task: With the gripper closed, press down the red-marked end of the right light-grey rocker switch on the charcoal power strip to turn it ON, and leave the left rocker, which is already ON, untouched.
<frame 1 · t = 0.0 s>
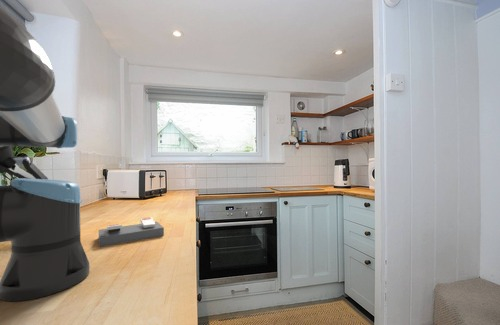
hand: (4, 203, 67), 15 cm above the counter, tool tilted 35°, fingers open, 13 cm apart
right rocker: (147, 222, 86), point 5 cm above the counter, hinge at -10.0°
left rocker: (114, 226, 80), point 5 cm above the counter, hinge at 10.0°
power strip: (131, 236, 83), on the counter
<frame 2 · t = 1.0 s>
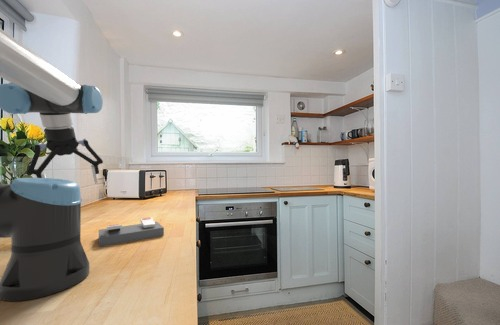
hand: (73, 186, 80), 19 cm above the counter, tool tilted 20°, fingers open, 13 cm apart
nothing on the counter moved.
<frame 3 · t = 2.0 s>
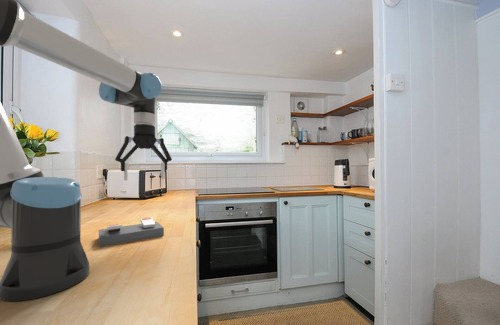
hand: (145, 179, 88), 21 cm above the counter, tool pointing down, fingers open, 13 cm apart
nothing on the counter moved.
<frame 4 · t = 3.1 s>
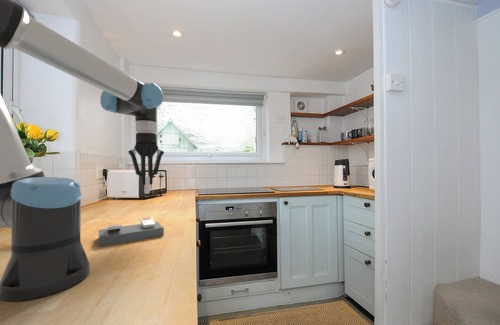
hand: (147, 193, 89), 15 cm above the counter, tool pointing down, fingers closed
nothing on the counter moved.
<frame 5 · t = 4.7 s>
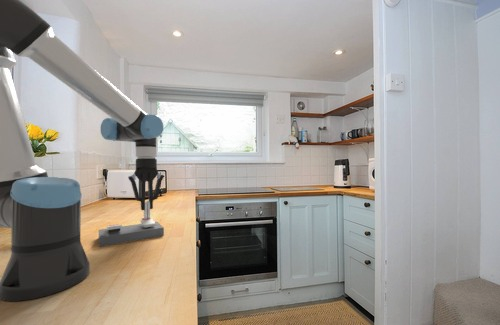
hand: (147, 217, 89), 6 cm above the counter, tool pointing down, fingers closed, pressing on right rocker
right rocker: (147, 222, 86), point 5 cm above the counter, hinge at -7.5°, touching gripper
everything else where it was.
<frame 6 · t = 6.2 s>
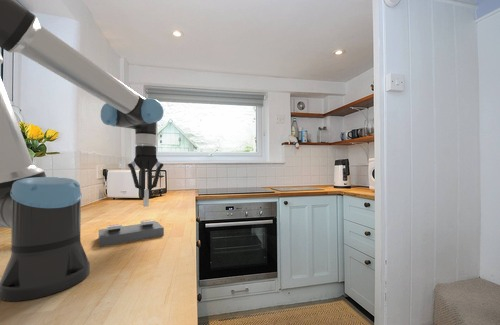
hand: (145, 205, 88), 10 cm above the counter, tool pointing down, fingers closed
right rocker: (147, 222, 86), point 5 cm above the counter, hinge at 9.6°
everything else where it was.
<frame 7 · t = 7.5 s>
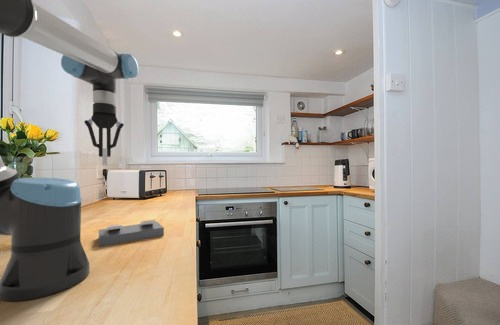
hand: (104, 165, 87), 26 cm above the counter, tool pointing down, fingers closed
right rocker: (147, 222, 86), point 5 cm above the counter, hinge at 13.8°
everything else where it was.
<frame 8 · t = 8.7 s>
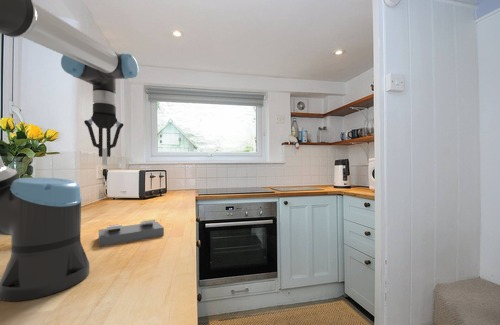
hand: (104, 165, 87), 26 cm above the counter, tool pointing down, fingers closed
right rocker: (147, 222, 86), point 5 cm above the counter, hinge at 15.5°
everything else where it was.
at the end: right rocker at +16° (first picture: -10°); left rocker at +10° (first picture: +10°) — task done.
